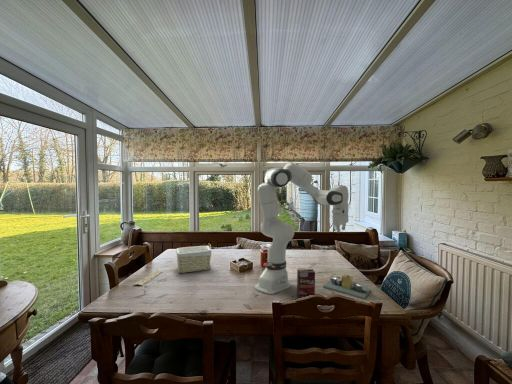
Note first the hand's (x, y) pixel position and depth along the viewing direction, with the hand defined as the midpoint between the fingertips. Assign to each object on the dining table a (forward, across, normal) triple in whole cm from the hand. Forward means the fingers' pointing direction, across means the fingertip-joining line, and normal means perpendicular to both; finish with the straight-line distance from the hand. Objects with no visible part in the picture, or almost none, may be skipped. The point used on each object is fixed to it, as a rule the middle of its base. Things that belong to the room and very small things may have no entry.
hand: (341, 230), depth 153 cm
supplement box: (+31, +42, -4) cm, 53 cm away
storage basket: (+31, +50, -90) cm, 108 cm away
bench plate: (+31, +15, +8) cm, 36 cm away
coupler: (+30, +14, +9) cm, 35 cm away
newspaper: (+32, +80, -98) cm, 131 cm away
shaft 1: (+31, +13, +2) cm, 34 cm away
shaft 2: (+31, +14, +16) cm, 38 cm away
